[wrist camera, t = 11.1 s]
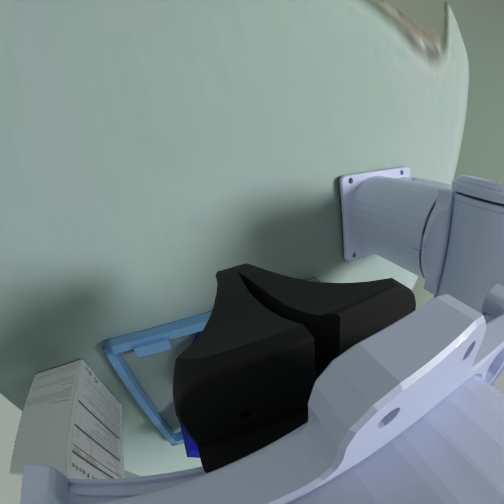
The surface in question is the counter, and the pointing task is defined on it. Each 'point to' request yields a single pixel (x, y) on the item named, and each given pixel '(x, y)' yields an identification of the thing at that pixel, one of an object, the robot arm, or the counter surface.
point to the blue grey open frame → (149, 345)
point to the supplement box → (70, 425)
